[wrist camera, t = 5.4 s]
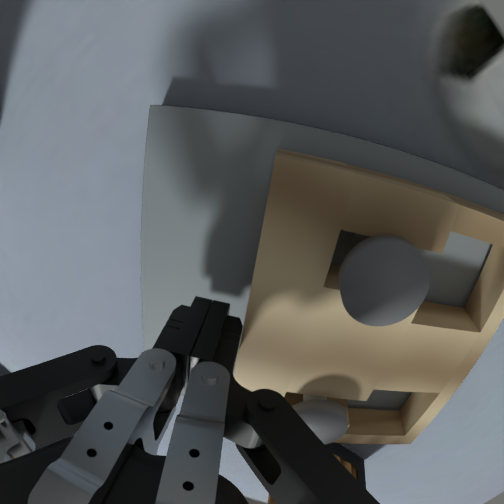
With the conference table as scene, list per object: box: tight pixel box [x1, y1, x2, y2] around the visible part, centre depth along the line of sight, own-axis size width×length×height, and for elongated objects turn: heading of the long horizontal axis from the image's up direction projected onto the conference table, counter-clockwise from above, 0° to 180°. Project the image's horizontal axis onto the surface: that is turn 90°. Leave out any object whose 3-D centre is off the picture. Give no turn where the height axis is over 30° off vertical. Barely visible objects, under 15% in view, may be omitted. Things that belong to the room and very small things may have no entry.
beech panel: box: [234, 149, 504, 444], centre depth 13 cm, size 14×12×2 cm
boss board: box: [141, 105, 504, 445], centre depth 13 cm, size 16×18×5 cm
